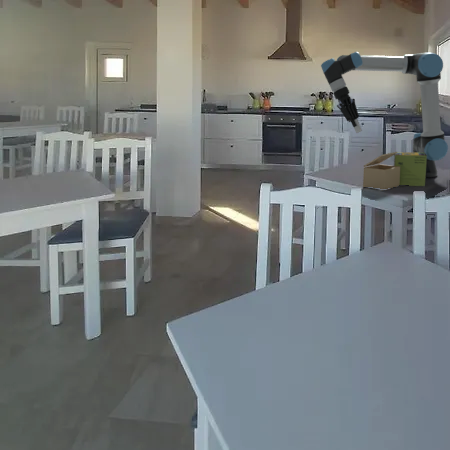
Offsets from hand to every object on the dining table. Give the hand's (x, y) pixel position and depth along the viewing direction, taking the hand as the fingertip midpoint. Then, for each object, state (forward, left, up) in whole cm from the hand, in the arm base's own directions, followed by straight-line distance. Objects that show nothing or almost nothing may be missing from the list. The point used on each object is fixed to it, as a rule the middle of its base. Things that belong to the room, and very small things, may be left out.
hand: (359, 132), depth 323 cm
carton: (0, +14, -26) cm, 30 cm away
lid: (0, +13, -13) cm, 18 cm away
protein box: (-16, +20, -27) cm, 37 cm away
